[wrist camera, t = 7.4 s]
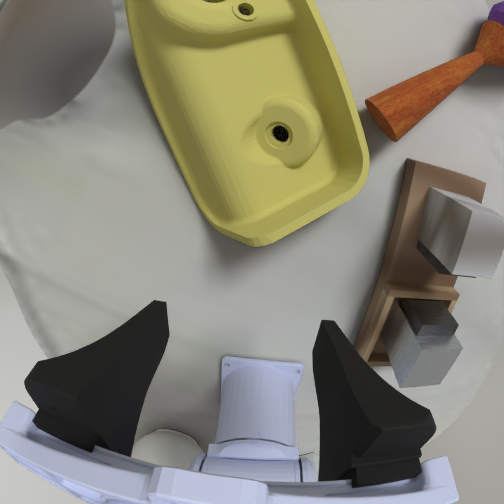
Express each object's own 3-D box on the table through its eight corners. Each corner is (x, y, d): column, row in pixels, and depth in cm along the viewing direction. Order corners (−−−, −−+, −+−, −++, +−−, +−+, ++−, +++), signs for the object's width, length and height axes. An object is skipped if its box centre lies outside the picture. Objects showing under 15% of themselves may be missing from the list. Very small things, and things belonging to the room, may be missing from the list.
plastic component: (376, 184, 17) (241, 261, 15) (314, 172, 24) (207, 226, 22) (267, -79, 8) (104, -53, 7) (229, -31, 15) (108, 1, 13)
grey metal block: (417, 337, 23) (439, 384, 18) (380, 337, 24) (399, 387, 18) (437, 292, 21) (468, 337, 16) (399, 290, 21) (428, 338, 16)
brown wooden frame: (413, 349, 26) (435, 399, 20) (352, 349, 26) (366, 406, 20) (475, 178, 18) (530, 205, 12) (407, 158, 18) (458, 179, 12)
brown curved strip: (137, 408, 34) (113, 473, 24) (225, 435, 35) (214, 503, 25) (135, 440, 39) (118, 492, 29) (206, 462, 40) (196, 515, 30)
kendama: (420, 160, 14) (570, 50, 6) (356, 72, 13) (526, -14, 5) (396, 157, 19) (535, 61, 11) (349, 92, 18) (498, 7, 11)
